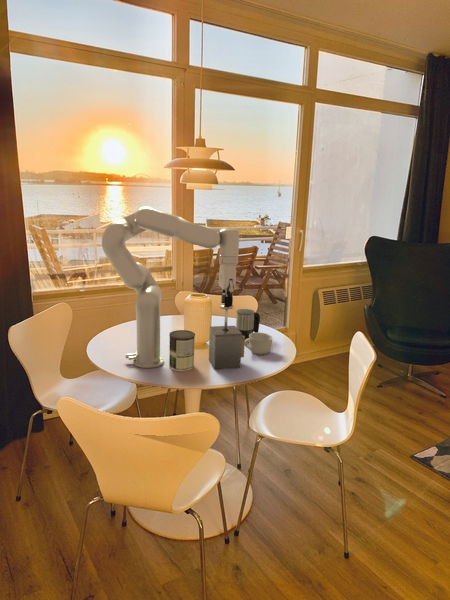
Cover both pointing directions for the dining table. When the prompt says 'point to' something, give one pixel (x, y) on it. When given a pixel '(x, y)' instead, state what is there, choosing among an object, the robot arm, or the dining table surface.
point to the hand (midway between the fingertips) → (226, 304)
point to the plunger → (225, 310)
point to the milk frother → (247, 322)
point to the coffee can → (181, 350)
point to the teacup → (259, 343)
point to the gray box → (226, 347)
